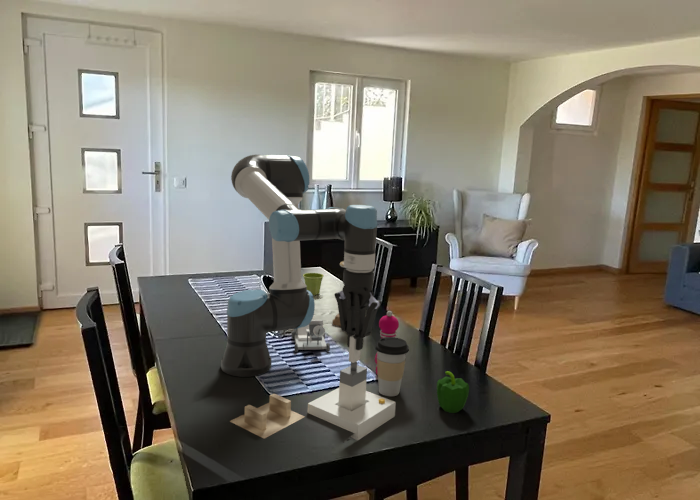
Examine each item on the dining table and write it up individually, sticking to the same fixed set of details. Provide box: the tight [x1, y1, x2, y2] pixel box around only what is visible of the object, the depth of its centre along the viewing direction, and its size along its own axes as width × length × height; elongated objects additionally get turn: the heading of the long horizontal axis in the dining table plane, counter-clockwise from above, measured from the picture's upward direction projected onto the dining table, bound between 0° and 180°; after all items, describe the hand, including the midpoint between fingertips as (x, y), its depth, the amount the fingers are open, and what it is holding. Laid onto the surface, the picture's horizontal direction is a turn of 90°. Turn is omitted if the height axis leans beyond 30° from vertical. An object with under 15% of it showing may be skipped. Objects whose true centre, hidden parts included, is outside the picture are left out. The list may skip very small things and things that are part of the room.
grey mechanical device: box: [291, 319, 331, 353], centre depth 190 cm, size 18×10×12 cm
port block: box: [307, 387, 397, 441], centre depth 142 cm, size 16×16×5 cm
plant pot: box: [302, 272, 324, 296], centre depth 254 cm, size 9×9×9 cm
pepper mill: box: [374, 310, 400, 376], centre depth 169 cm, size 7×7×20 cm
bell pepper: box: [436, 370, 470, 414], centre depth 149 cm, size 8×8×10 cm
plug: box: [338, 361, 368, 411], centre depth 141 cm, size 4×6×14 cm, turn 142°
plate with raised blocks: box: [229, 393, 306, 440], centre depth 136 cm, size 12×14×6 cm
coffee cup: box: [375, 337, 410, 397], centre depth 157 cm, size 9×9×15 cm
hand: (354, 360), depth 140 cm, fingers closed
